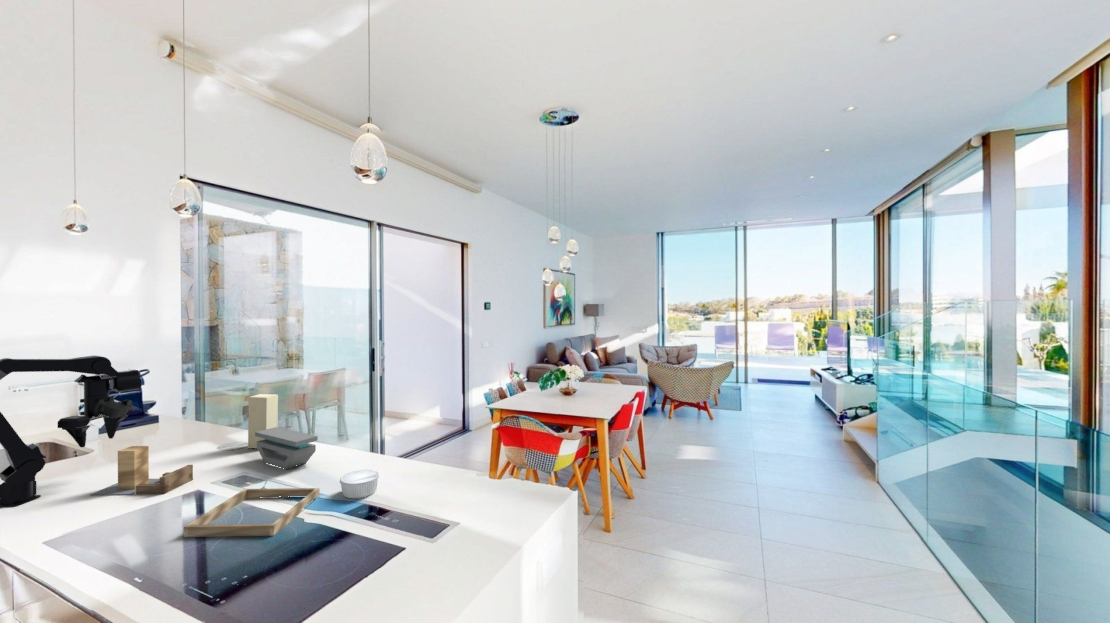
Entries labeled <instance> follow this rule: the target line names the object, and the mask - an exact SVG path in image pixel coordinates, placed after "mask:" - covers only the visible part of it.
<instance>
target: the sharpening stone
mask: <svg viewBox="0 0 1110 623" xmlns="http://www.w3.org/2000/svg"><path fill="white" fill-rule="evenodd" d="M255 436H256V437H260V438H264V440H260V441H257V449H256V450H257V452H259V454H260V456H261V458H262V460H263V462H264V464H265V463H268V464H272V465H275V466H278V467H281V468H284V469H286V470H288V469H287V468H289V469H291V468H290V467H292V468H295V467H297V466H296V465H298V466H300V465H299V464H302V463H305V464H306V463H307V462H309V460H310V458H312V456H313V455H314V453H315V452H316V449H317V448H316V444H314V443H313V442H317V441H318V439H319V437H318V435H315V434H310V433H306V432H302V431H297V430H296V431H295V430H293V429H287V428H284V427H279V426H278V427H275V428H270V429H266V430H262V431H257V432H255ZM302 465H303V464H302ZM294 466H295V467H294Z"/></svg>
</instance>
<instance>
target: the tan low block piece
mask: <svg viewBox="0 0 1110 623" xmlns="http://www.w3.org/2000/svg"><path fill="white" fill-rule="evenodd" d="M193 469H194V464H187V465H184V466H181V467H180V468H179V469H175V470H174V471H171V472H170V471H169V472H167V471H166V472H165V473H162V476H160V477H159V479H160V482H159V483H156V484H139V485H137V486H136V493H135V494H136V495H165V494H168V493H169V492H171V491H174V490H176V489H177V488H179V487H181V486H183V485H186V484H187V483H189V482H191V481H193V480H194V470H193Z"/></svg>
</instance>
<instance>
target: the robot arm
mask: <svg viewBox="0 0 1110 623" xmlns="http://www.w3.org/2000/svg"><path fill="white" fill-rule="evenodd" d="M26 372H27V373H30V372H31V373H32V372H35V373H36V372H38V373H41V372H73V373H82V374H80V376H79V377H77V378H76V379H75V380H74V381H73V382H75V383H78V384H82V383H83V398H81V399H79V403H83V411H80V412H79V415H71V416H65V417H62V418H59V419H58V421H57V429H61V430H65V431H66V432H67V433H68V435H70V436H71V437H72V438H73V440H74V441H75V442H76V444H77V445H78V447H80V448H85V447H86V442H87V431H88V429H89V428H90V427H91V425H89V423H90V422H91V421H94V420H100V419H103V422H104V426H105V430H106V435H107V437H108V439H110V440H111V439H113V438H114V437H115V435H116V432H117V430H118V428H119V425H120V424H121V422H122V421H124V419H126V418H127V417H129V415H132V413H133V412H132V410H133V401H132V400H130V399H123V400H122V401H115V397H114V396H112V395H111V396H110V390H112V391H113V390H114V392H115V393H119V392H120V393H121V392H122V393H123V392H131V391H138V390H140V389H141V387H142V380H141V376H140V374H139V370H138V369H133V370H127V371H126V370H125V371H118V370H117V369H116V368H114V367H113V366H112V362H111V360H110V359H109V358H107V357H105V356H101V355H88V356H80V357H79V356H78V357H73V358H10V357H6V358H5V357H4V358H0V381H1V380H2V379H3V378H5V377H6V376H8V375H10V374H12V373H26ZM86 374H89V375H88V376H87V375H86ZM90 374H91V375H90ZM101 375H104V376H108V377H101ZM0 445H1V447H2V448H3V449H4V452H5V456H6V458H7V462H8V464H9V466H7V467H6V468H5V469H3V470H2V471H1V472H0V479H1V481H3V482H2V483H1V484H0V507H18V506H20V505H23V504H25V503H27V502H30V501H33V500H36V499H39V498H41V497H42V495H41V494H37V481H36V477H37V476H36V475H37V474H38V473H39V472H41V471H42V470H43V469H44V467H45V465H46V460H45V459H47V456H46V455H44V454H43V453H42V452H41V449H40V447H39V445H37V444H35V443H34V442H33V443H30V444H29V445H27V444H26V443H25V442H24V441H23V439H22V438H21V437H20V435H19V434H18V433H17V431H16V430H15V429H14V428H13V426H12V425H11V424H10V422H9V421H8V420H7V419H6V417H5V416H4V414H3V413H2V412H1V411H0Z"/></svg>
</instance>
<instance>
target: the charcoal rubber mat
mask: <svg viewBox="0 0 1110 623" xmlns="http://www.w3.org/2000/svg"><path fill="white" fill-rule="evenodd" d="M159 483H160V478H149V483H147V484H159ZM133 494H136V489H118V482H117V483H114V484H111V485H110V486H107V487H105V488H102V489H100V490H98V491H97V490H96V491H94V492H93V493H90V494H89V496H132V495H133Z"/></svg>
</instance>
